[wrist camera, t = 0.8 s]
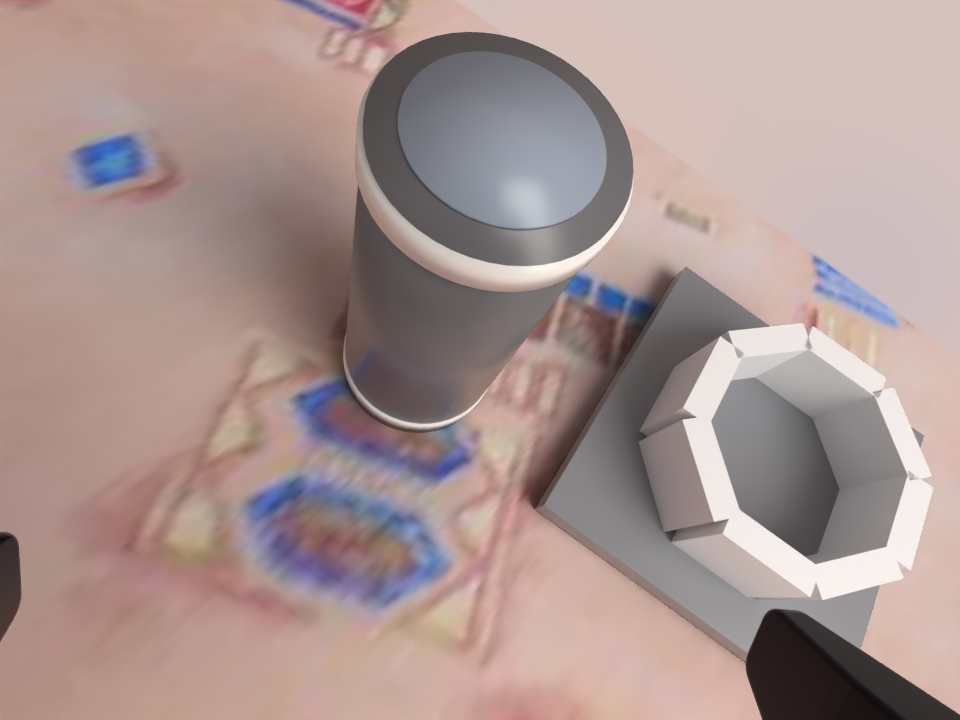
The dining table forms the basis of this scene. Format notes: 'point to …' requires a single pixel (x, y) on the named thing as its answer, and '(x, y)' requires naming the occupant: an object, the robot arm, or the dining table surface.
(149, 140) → the dining table surface
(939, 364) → the dining table surface
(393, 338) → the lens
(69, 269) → the dining table surface
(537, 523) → the dining table surface
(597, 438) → the stand
